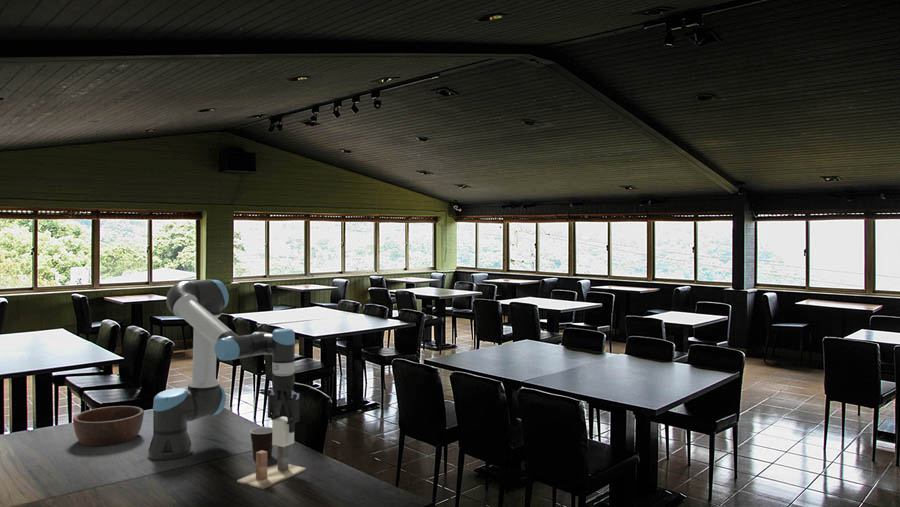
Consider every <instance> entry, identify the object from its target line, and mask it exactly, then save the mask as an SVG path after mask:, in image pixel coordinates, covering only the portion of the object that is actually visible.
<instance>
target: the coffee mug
mask: <svg viewBox="0 0 900 507" xmlns="http://www.w3.org/2000/svg"><path fill="white" fill-rule="evenodd" d="M250 440H251V450H252V458H253V460H255V461H256V452H259V451H261V450H263V451H267V460H269V459H271V458H272V454H273V448H274V445H272V426H271V427H270V426H261V427H256V428H252V429H251V430H250Z"/></svg>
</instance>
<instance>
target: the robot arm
mask: <svg viewBox="0 0 900 507" xmlns="http://www.w3.org/2000/svg"><path fill="white" fill-rule="evenodd" d="M229 297H230V296H229V292H228V289H227V286H226V285H225V284H224V283H223V282H222V281H221V280H218V279H199V280H183V281H178V282H177V283H175V284H174V285H172V286H171V288H170V289H169V290H168V292H167V295H166V305H167V308H168V309H169V311H170V312H171V314H173V315H174V316H175V317H177V318H179V319H183V320H184V321H185V322H186V323H188V324H189V325H190V326H191V327H192V328H193V340H192V346H193V347H192V376H191V377H192V379H191V380H190V382H188V383H187V389H186V388H185V387H176V388H168V389H166V390H163V391H160V392H158V393H157V394H156V395H155V396H154V397H153V406H152V410H153V412H152V413H153V414H152V415H153V416H152V417H153V419H152V420H153V422H152V423H153V425H152V426H153V431H152V432H153V435H152V438H151V441H150V445H149V446H148V450H147V457H148V458H149V459H151V460H157V461H158V460H159V461H169V460H175V459H180V458H183V457H186V456H188V455H190V454H191V453H192V452H193V443H192V440H191V439H190V436H189V433H188V432H189V431H188V423H189V422H194V421H198V420H201V419H205V418H211V417H213V416H216V415H218V414H220V413H221V411H223V409H224V408H225V406H226V401H227V400H226V399H227V395H226V392H225V388H224V387H223V386H222V385H220V384H221V383H220V381H219V380H218V379H217V378H216V377H217V360H220V361H234V360H238V359H243V358H248V357H249V358H250V357H254V356H255V357H256V356H261V355H262V356H263V355H267V356H269V355H270V356H272V362H271V363H272V366H271V367H272V377H271V378H272V380H271V381H272V382H271V383H272V384H271V385H272V388H270V389H267V390H266V394H267V418H268V419H271V421H272V420H274V419H277V418H280V417H281V416H280V415H281V410H282V405H284V408H285V413H286V417H287V419H288V423H287V424H286V443H289V442H291V441H293V432H294V433H295V427H296V426H295V425H296V423H297V422H300V419H301V418H300V400H301V399H300V398H301V392H295V389H294V385H295V383H296V382H295V378H296V376H295V374H294V373H295V371H296V370H295V369H296V368H295V367H296V365H295V364H296V363H295V354H296V353H295V352H296V351H295V350H296V344H295V343H296V338H295V337H296V336H295V331H294V330H293V329H292V328H276V329H273V331H272V333H271V332H265V331H254V332H253V333H251V334H243V335H238V334H237V333H236V332H235V331H233V330H232V329H230V328H229V327H228V326H227V325H225V323H223V322H222V321H221V320H220V319H218V318H219V317H221V315H222V313H223V312H222V311H223V309H225V308H226V307H227V305H228V303H229V299H230V298H229ZM291 419H292V420H291Z"/></svg>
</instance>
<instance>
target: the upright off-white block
mask: <svg viewBox="0 0 900 507" xmlns="http://www.w3.org/2000/svg"><path fill="white" fill-rule="evenodd" d="M279 417H280V418H277V419H274V420H272V419H271V424H272V426H271V428H272V445H273V446H277V447H278V446H281V447H285V446H288V445H289V446H291V445H293V444H295V431H294V432H293V441H291V442H289V443H286V424H287V423H288V419H287V416H279ZM291 420H292V419H291Z"/></svg>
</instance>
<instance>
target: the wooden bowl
mask: <svg viewBox="0 0 900 507" xmlns="http://www.w3.org/2000/svg"><path fill="white" fill-rule="evenodd" d="M144 415H145V411H144V409H143V408H141V407H139V406H132V405H131V406H130V405H115V406H114V405H113V406H105V407H104V406H103V407H99V408H98V407H97V408H93V409H88V410H86V411H85V410H84V411H82V412H80V413H77V414H75V415H74V416H73V417H72V418H73V419H72V422H73V423H72V424H73V429H74V433H75V436H76V438H77V440H78V442H79V443H81V444H82V445H84V446H87V447H88V446H89V447H109V446H115V445H119V444H123V443H126V442H127V443H128V442H129V441H131V440H132V441H133V440H134V439H135V438H136V437H137V436H138V435H139V433H140V432H141V429H142V426H143V421H144Z"/></svg>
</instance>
